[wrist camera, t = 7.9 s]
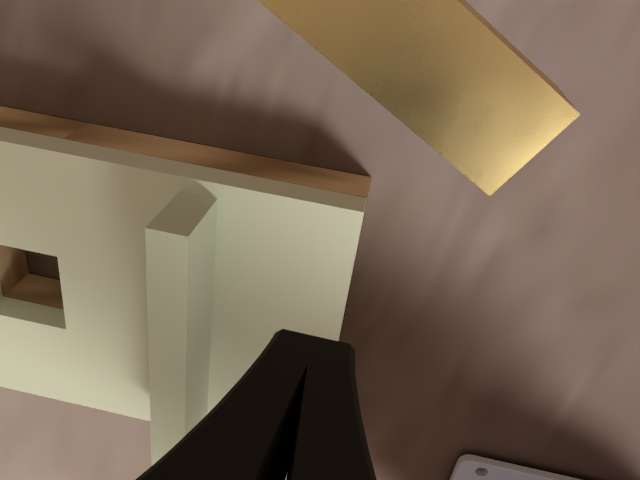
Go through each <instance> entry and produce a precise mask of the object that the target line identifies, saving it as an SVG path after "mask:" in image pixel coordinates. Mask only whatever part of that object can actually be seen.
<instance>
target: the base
mask: <svg viewBox="0 0 640 480" xmlns="http://www.w3.org/2000/svg"><path fill="white" fill-rule="evenodd" d="M0 127H5V128H10V129H16V130H21V131H26V132H31V133H36V134H41V135H46V136H51V137H57V138H62V139H67V140H72V141H77V142H82V143H87V144H92V145H98V146H103V147H108V148H113V149H118V150H123V151H128V152H133V153H139V154H144V155H149V156H154V157H159V158H164V159H169V160H174V161H180V162H185V163H190V164H195V165H200V166H205V167H210V168H215V169H221V170H226V171H231V172H236V173H241V174H246V175H251V176H256V177H262V178H267V179H272V180H277V181H282V182H287V183H292V184H297V185H303V186H308V187H313V188H318V189H323V190H328V191H333V192H338V193H344V194H349V195H354V196H359V197H364V198H367V197H368V192H369V187H370V182H371V177H367V176H362V175H357V174H352V173H346V172H341V171H336V170H331V169H326V168H320V167H315V166H310V165H305V164H300V163H294V162H289V161H284V160H279V159H274V158H268V157H263V156H258V155H253V154H248V153H242V152H237V151H232V150H227V149H222V148H216V147H211V146H206V145H201V144H196V143H190V142H185V141H180V140H175V139H170V138H164V137H159V136H154V135H149V134H144V133H138V132H133V131H128V130H123V129H117V128H112V127H107V126H102V125H97V124H91V123H86V122H81V121H76V120H71V119H65V118H60V117H55V116H50V115H45V114H39V113H34V112H29V111H24V110H19V109H13V108H8V107H3V106H0ZM366 202H367V201H366ZM365 207H366V206H365ZM364 212H365V211H364ZM363 217H364V216H363ZM362 222H363V221H362ZM361 227H362V226H361ZM360 232H361V231H360ZM359 237H360V236H359ZM358 242H359V241H358ZM357 247H358V246H357ZM356 252H357V251H356ZM355 257H356V256H355ZM354 262H355V261H354ZM353 267H354V266H353ZM352 272H353V271H352ZM351 277H352V276H351ZM350 282H351V281H350ZM0 284H1V289H2V295H3V296H4V297H9V298H13V299H18V300H22V301H27V302H32V303H36V304H41V305H45V306H50V307H54V308H59V309H64V307H63V299H62V291H61V283H60V280H57V279H52V278H48V277H43V276H38V275H34V274H29V271H28V265H27V258H26V252H25V250H23V249H18V248H13V247H9V246H4V245H0ZM349 287H350V286H349ZM348 292H349V291H348ZM347 297H348V296H347ZM346 302H347V301H346ZM345 307H346V306H345ZM344 312H345V311H344ZM343 317H344V316H343ZM342 322H343V321H342ZM341 327H342V326H341ZM340 332H341V331H340ZM339 337H340V336H339Z"/></svg>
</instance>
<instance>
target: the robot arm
mask: <svg viewBox="0 0 640 480" xmlns="http://www.w3.org/2000/svg"><path fill="white" fill-rule="evenodd" d="M287 472H288V473H287ZM286 475H287V480H376V476H375V473H374V469H373V465H372V461H371V458H370V454H369V449H368V445H367V440H366V436H365V432H364V427H363V423H362V418H361V412H360V407H359V400H358V394H357V387H356V378H355V350H354V349H353V347H352V346H351V345H350V344H348V343H343V342H339V341H335V340H330V339H326V338H321V337H317V336H313V335H308V334H304V333H299V332H295V331H290V330H286V329H281V330H279V331H277V332H276V333H275V334H274V336H273V337H272V339H271V340H270V342H269V343H268V345H267V346H266V347H265V349H264V350H263V351H262V353H261V354H260V355H259V357H258V358H257V359H256V360H255V362H254V363H253V364H252V365H251V367H250V368H249V369H248V370H247V371H246V373H245V374H244V375H243V376H242V377H241V378H240V380H239V381H238V382H237V383H236V384H235V385H234V386H233V387H232V388H231V389H230V391H229V392H228V393H227V394H226V395H225V396H224V397H223V398H222V399H221V400H220V401H219V403H218V404H217V405H216V406H215V407H214V408H213V409H212V410H211V411H210V412H209V413H208V414H207V415H206V416H205V417H204V418H203V419H202V420H201V421H200V422H199V423H198V424H197V425H196V426H195V427H194V428H193V429H192V430H190V431H189V432H188V433H187V434H186V435H185V436H184V437H183V438H182V439H181V440H180V441H179V442H178V443H177V444H176V445H175V446H174V447H173V448H172V449H171V450H169V451H168V452H167V453H166V454H165V455H164V456H163V457H162V458H160V459H159V460H158V461H157V462H156V463H155V464H154V465H152V466H151V467H150V468H149V469H148V470H147V471H146V472H144V473H143V474H142V475H141V476H139V477H138V478H137V479H136V480H285V478H286ZM450 480H582V479H577V478H573V477H568V476H564V475H560V474H555V473H551V472H546V471H542V470H537V469H533V468H529V467H524V466H520V465H515V464H511V463H507V462H502V461H498V460H493V459H489V458H484V457H480V456H476V455H470V454H467V455H463V456H461V457H459V459H458V460H457V463H456V465H455V468H454V470H453V473H452V475H451V478H450Z"/></svg>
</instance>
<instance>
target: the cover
mask: <svg viewBox="0 0 640 480" xmlns="http://www.w3.org/2000/svg"><path fill="white" fill-rule="evenodd" d="M366 201H367V198H364V197H359V196H354V195H349V194H344V193H338V192H333V191H328V190H323V189H318V188H313V187H308V186H303V185H297V184H292V183H287V182H282V181H277V180H272V179H267V178H262V177H256V176H251V175H246V174H241V173H236V172H231V171H226V170H221V169H215V168H210V167H205V166H200V165H195V164H190V163H185V162H180V161H174V160H169V159H164V158H159V157H154V156H149V155H144V154H139V153H133V152H128V151H123V150H118V149H113V148H108V147H103V146H98V145H92V144H87V143H82V142H77V141H72V140H67V139H62V138H57V137H51V136H46V135H41V134H36V133H31V132H26V131H21V130H16V129H10V128H5V127H0V245H4V246H9V247H13V248H18V249H23V250H28V251H32V252H37V253H42V254H46V255H51V256H56V257H57V259H58V267H59V275H60V283H61V291H62V299H63V307H64V309H59V308H54V307H50V306H45V305H41V304H36V303H32V302H27V301H22V300H18V299H13V298H9V297H4V296H3V295H2V289H1V284H0V386H1V387H5V388H9V389H14V390H18V391H22V392H27V393H31V394H35V395H40V396H44V397H48V398H53V399H57V400H61V401H66V402H70V403H74V404H78V405H83V406H87V407H91V408H96V409H100V410H104V411H109V412H113V413H117V414H122V415H126V416H130V417H135V418H139V419H143V420H148V421H151V455H152V465H154V464H155V463H156V462H157V461H158V460H159V459H160V458H162V457H163V456H164V455H165V454H166V453H167V452H168V451H169V450H171V449H172V448H173V447H174V446H175V445H176V444H177V443H178V442H179V441H180V440H181V439H182V438H183V437H184V436H185V435H186V434H187V433H188V432H189V431H190V430H192V429H193V428H194V427H195V426H196V425H197V424H198V423H199V422H200V421H201V420H202V419H203V418H204V417H205V416H206V415H207V414H208V413H209V412H210V411H211V410H212V409H213V408H214V407H215V406H216V405H217V404H218V403H219V401H220V400H221V399H222V398H223V397H224V396H225V395H226V394H227V393H228V392H229V391H230V389H231V388H232V387H233V386H234V385H235V384H236V383H237V382H238V381H239V380H240V378H241V377H242V376H243V375H244V374H245V373H246V371H247V370H248V369H249V368H250V367H251V365H252V364H253V363H254V362H255V360H256V359H257V358H258V357H259V355H260V354H261V353H262V351H263V350H264V349H265V347H266V346H267V345H268V343H269V342H270V340H271V339H272V337H273V336H274V334H275V333H276V332H277V331H279V330H281V329H286V330H290V331H295V332H299V333H304V334H308V335H313V336H317V337H321V338H326V339H330V340H335V341H339V336H340V331H341V326H342V321H343V316H344V311H345V306H346V301H347V296H348V291H349V286H350V281H351V276H352V271H353V266H354V261H355V256H356V251H357V246H358V241H359V236H360V231H361V226H362V221H363V216H364V211H365V206H366Z"/></svg>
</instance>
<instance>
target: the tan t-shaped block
mask: <svg viewBox="0 0 640 480" xmlns="http://www.w3.org/2000/svg"><path fill="white" fill-rule="evenodd" d="M258 1H259V2H261V3H262V4H263V5H264V6H265V7H267V8H268V9H269V10H270V11H271V12H272V13H274V14H275V15H276V16H277V17H278V18H280V19H281V20H282V21H283V22H284V23H285V24H287V25H288V26H289V27H290V28H291V29H293V30H294V31H295V32H296V33H297V34H298V35H300V36H301V37H302V38H303V39H304V40H306V41H307V42H308V43H309V44H310V45H311V46H313V47H314V48H315V49H316V50H317V51H319V52H320V53H321V54H322V55H323V56H324V57H326V58H327V59H328V60H329V61H330V62H332V63H333V64H334V65H335V66H336V67H337V68H339V69H340V70H341V71H342V72H343V73H345V74H346V75H347V76H348V77H349V78H350V79H352V80H353V81H354V82H355V83H356V84H358V85H359V86H360V87H361V88H362V89H364V90H365V91H366V92H367V93H368V94H369V95H371V96H372V97H373V98H374V99H375V100H377V101H378V102H379V103H380V104H381V105H382V106H384V107H385V108H386V109H387V110H388V111H390V112H391V113H392V114H393V115H394V116H395V117H397V118H398V119H399V120H400V121H401V122H403V123H404V124H405V125H406V126H407V127H408V128H410V129H411V130H412V131H413V132H414V133H416V134H417V135H418V136H419V137H420V138H421V139H423V140H424V141H425V142H426V143H427V144H429V145H430V146H431V147H432V148H433V149H434V150H436V151H437V152H438V153H439V154H440V155H442V156H443V157H444V158H445V159H446V160H447V161H449V162H450V163H451V164H452V165H453V166H455V167H456V168H457V169H458V170H459V171H460V172H462V173H463V174H464V175H465V176H466V177H468V178H469V179H470V180H471V181H472V182H473V183H475V184H476V185H477V186H478V187H479V188H481V189H482V190H483V191H484V192H485V193H487V194H488V195H489V196H490V195H491V194H492V193H494V192H495V191H496V190H497V189H498V188H499V187H500V186H501V185H502V184H504V183H505V182H506V181H507V180H508V179H509V178H510V177H511V176H513V175H514V174H515V173H516V172H517V171H518V170H519V169H520V168H521V167H523V166H524V165H525V164H526V163H527V162H528V161H529V160H530V159H531V158H533V157H534V156H535V155H536V154H537V153H538V152H539V151H540V150H541V149H543V148H544V147H545V146H546V145H547V144H548V143H549V142H550V141H551V140H553V139H554V138H555V137H556V136H557V135H558V134H559V133H560V132H561V131H563V130H564V129H565V128H566V127H567V126H568V125H569V124H570V123H571V122H573V121H574V120H575V119H576V118H577V117H578V116H579V115H580V113H579V112H578V111H577V109H576V108H575V107H574V106H573V105H572V103H571V102H570V101H569V100H568V99H567V97H566V96H565V95H564V94H563V92H562V91H561V90H560V89H559V88H558V86H557V85H555V84H554V83H553V82H552V81H551V80H550V79H549V78H548V77H547V76H546V75H545V74H544V73H543V72H541V71H540V70H539V69H538V68H537V67H536V66H535V65H534V64H533V63H532V62H531V61H530V60H529V59H527V58H526V57H525V56H524V55H523V54H522V53H521V52H520V51H519V50H518V49H517V48H516V47H515V46H513V45H512V44H511V43H510V42H509V41H508V40H507V39H506V38H505V37H504V36H503V35H502V34H501V33H499V32H498V31H497V30H496V29H495V28H494V27H493V26H492V25H491V24H490V23H489V22H488V21H487V20H486V19H484V18H483V17H482V16H481V15H480V14H479V13H478V12H477V11H476V10H475V9H474V8H473V7H472V6H470V5H469V4H468V3H467V2H466V1H465V0H258Z"/></svg>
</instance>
